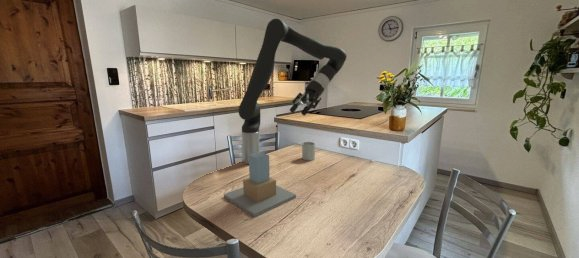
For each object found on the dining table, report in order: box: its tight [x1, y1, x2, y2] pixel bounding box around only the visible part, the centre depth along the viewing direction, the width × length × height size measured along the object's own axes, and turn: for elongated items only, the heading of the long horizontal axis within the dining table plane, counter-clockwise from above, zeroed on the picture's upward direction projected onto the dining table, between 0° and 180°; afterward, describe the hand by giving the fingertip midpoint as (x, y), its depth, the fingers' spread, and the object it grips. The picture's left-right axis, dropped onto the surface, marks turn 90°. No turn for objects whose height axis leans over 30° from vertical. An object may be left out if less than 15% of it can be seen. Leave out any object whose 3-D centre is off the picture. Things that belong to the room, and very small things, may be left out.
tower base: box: [223, 177, 297, 218], centre depth 98 cm, size 20×20×7 cm
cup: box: [301, 141, 316, 161], centre depth 145 cm, size 7×10×9 cm
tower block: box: [248, 151, 271, 184], centre depth 97 cm, size 6×6×10 cm
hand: (296, 113), depth 110 cm, fingers open, 8 cm apart
